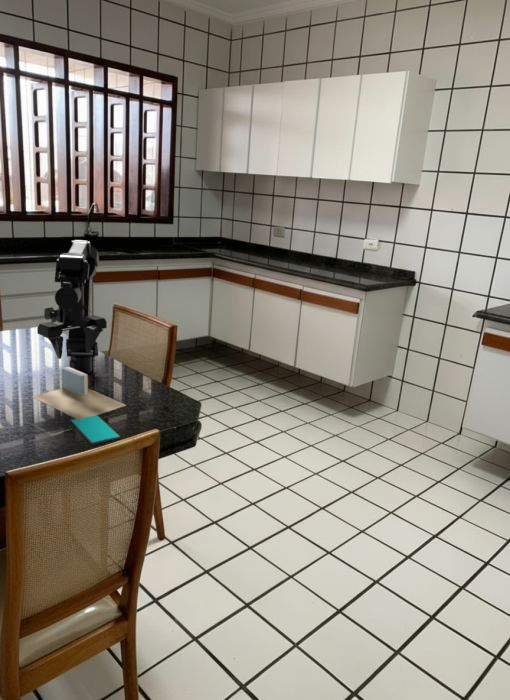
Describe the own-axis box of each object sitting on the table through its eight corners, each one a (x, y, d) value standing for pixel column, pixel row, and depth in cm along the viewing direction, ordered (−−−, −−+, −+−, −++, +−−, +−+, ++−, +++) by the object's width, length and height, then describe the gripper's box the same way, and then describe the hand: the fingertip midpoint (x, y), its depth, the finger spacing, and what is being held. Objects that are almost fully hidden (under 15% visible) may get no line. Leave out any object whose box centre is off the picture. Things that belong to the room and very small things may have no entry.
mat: (78, 385, 160) (78, 384, 160) (126, 406, 147) (126, 405, 147) (31, 397, 148) (31, 396, 148) (79, 422, 136) (79, 420, 136)
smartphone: (97, 414, 140) (121, 436, 129) (97, 417, 140) (121, 439, 129) (69, 419, 136) (91, 443, 124) (69, 422, 136) (91, 446, 125)
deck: (69, 385, 158) (68, 366, 156) (87, 394, 153) (87, 374, 151) (62, 387, 156) (61, 368, 154) (81, 396, 151) (80, 376, 149)
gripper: (84, 293, 159) (84, 343, 163) (24, 299, 144) (27, 354, 149) (107, 299, 152) (108, 352, 157) (48, 307, 138) (50, 364, 143)
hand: (74, 355), depth 151 cm, fingers open, 9 cm apart
